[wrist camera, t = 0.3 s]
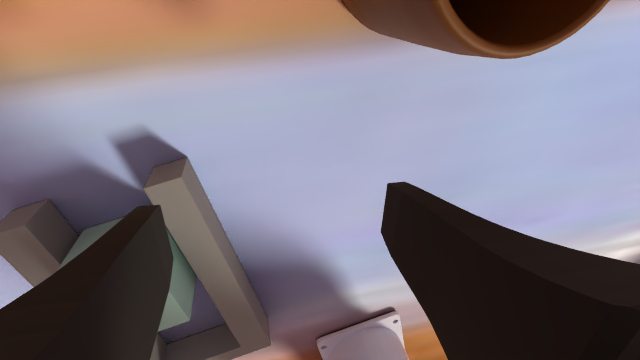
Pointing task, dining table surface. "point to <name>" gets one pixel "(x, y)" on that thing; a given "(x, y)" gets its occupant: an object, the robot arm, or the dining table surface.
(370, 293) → the dining table surface
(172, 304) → the block
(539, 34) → the mug
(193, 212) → the chute
